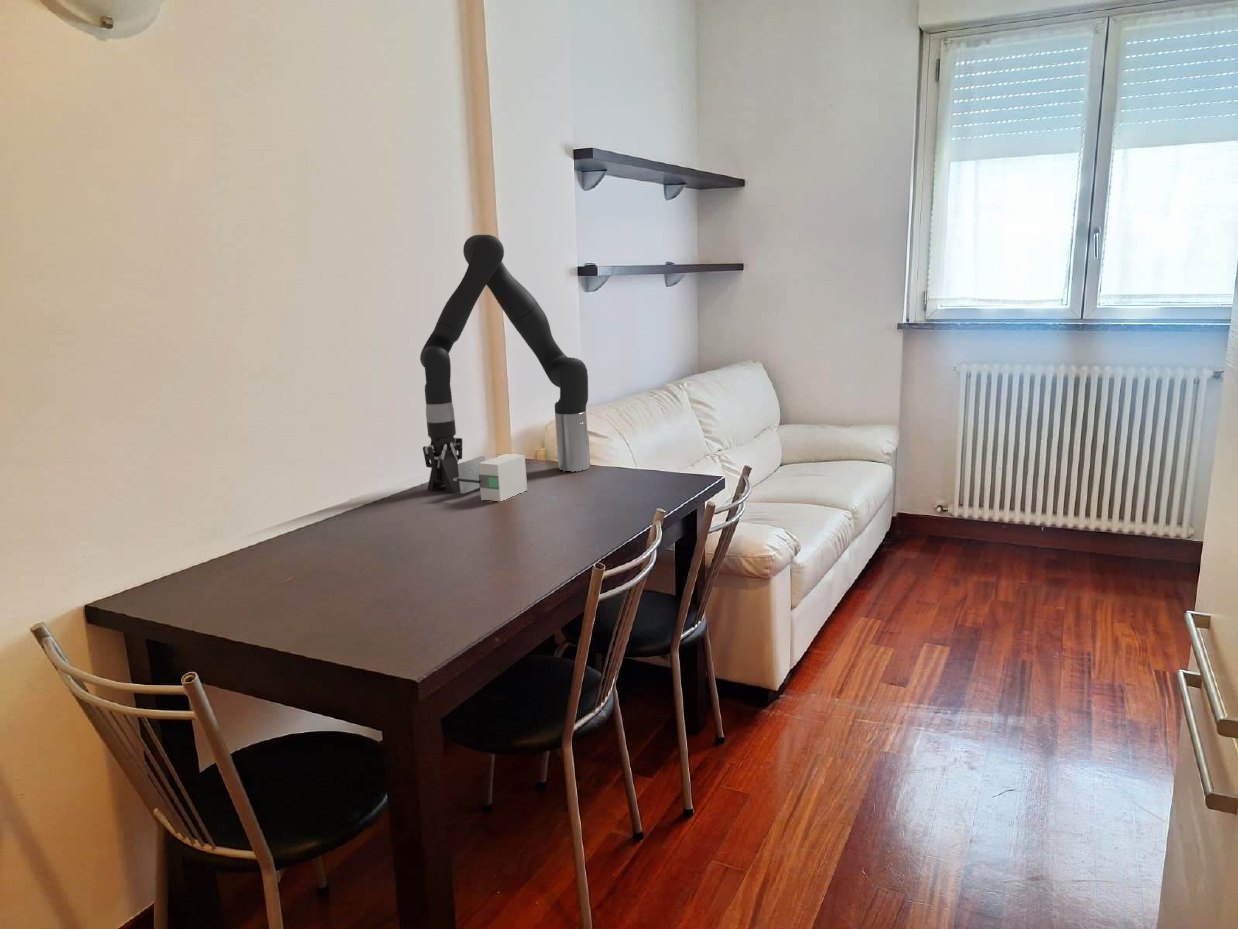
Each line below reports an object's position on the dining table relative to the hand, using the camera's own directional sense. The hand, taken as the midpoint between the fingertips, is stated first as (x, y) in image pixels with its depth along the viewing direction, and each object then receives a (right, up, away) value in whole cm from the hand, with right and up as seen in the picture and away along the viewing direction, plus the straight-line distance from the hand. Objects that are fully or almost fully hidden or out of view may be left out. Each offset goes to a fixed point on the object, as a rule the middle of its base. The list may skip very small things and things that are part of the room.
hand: (446, 478), depth 233 cm
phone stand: (0, -3, +1) cm, 3 cm away
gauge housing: (+17, -4, -9) cm, 20 cm away
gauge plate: (+11, -3, -7) cm, 13 cm away
